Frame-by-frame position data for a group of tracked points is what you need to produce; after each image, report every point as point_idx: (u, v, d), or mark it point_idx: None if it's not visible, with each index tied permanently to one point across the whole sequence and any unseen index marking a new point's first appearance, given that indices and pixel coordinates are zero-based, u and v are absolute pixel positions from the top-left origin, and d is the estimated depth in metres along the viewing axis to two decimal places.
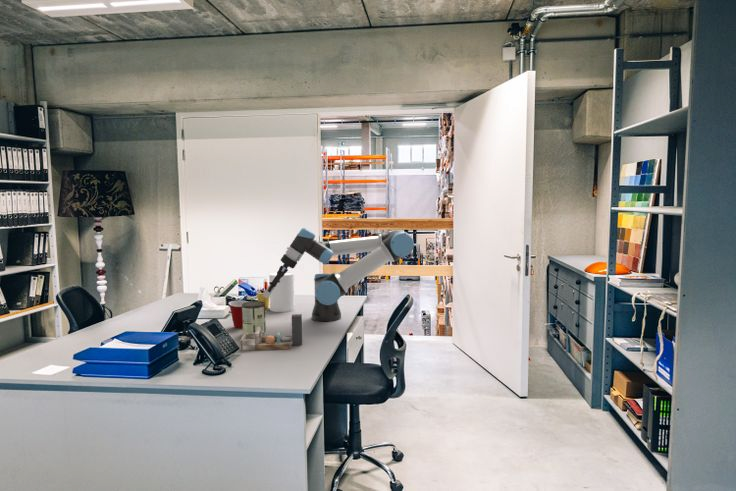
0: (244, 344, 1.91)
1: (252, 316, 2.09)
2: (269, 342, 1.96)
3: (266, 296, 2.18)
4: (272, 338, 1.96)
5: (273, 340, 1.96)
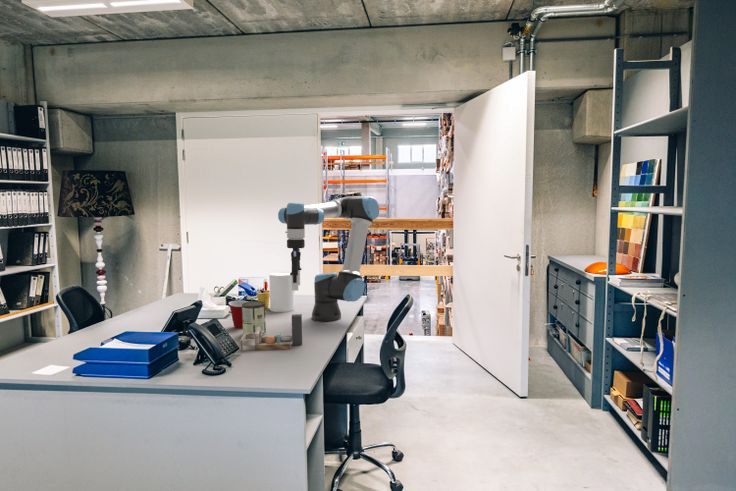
0: (244, 344, 1.91)
1: (252, 316, 2.09)
2: (269, 342, 1.96)
3: (296, 288, 1.98)
4: (272, 338, 1.96)
5: (273, 340, 1.96)
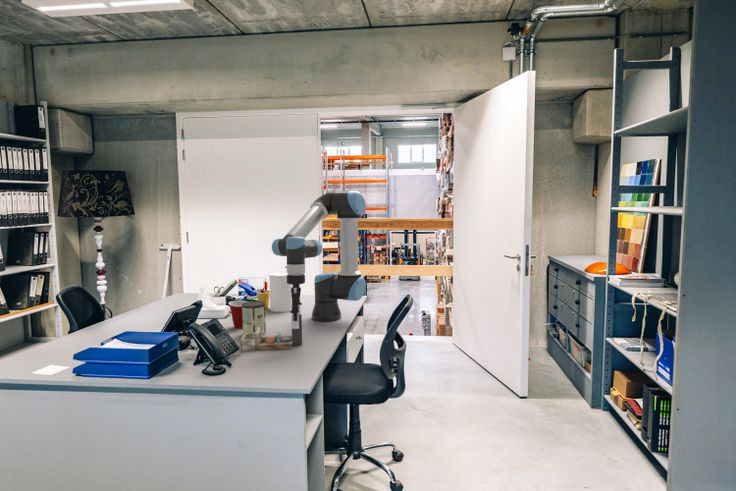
0: (244, 344, 1.91)
1: (252, 316, 2.09)
2: (269, 342, 1.96)
3: (296, 326, 1.91)
4: (272, 338, 1.96)
5: (273, 340, 1.96)
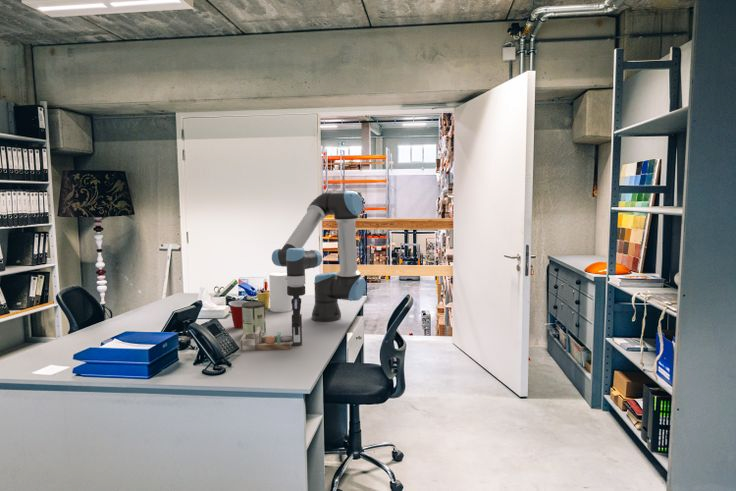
0: (244, 344, 1.91)
1: (252, 316, 2.09)
2: (269, 342, 1.96)
3: (298, 340, 1.96)
4: (272, 338, 1.96)
5: (273, 340, 1.96)
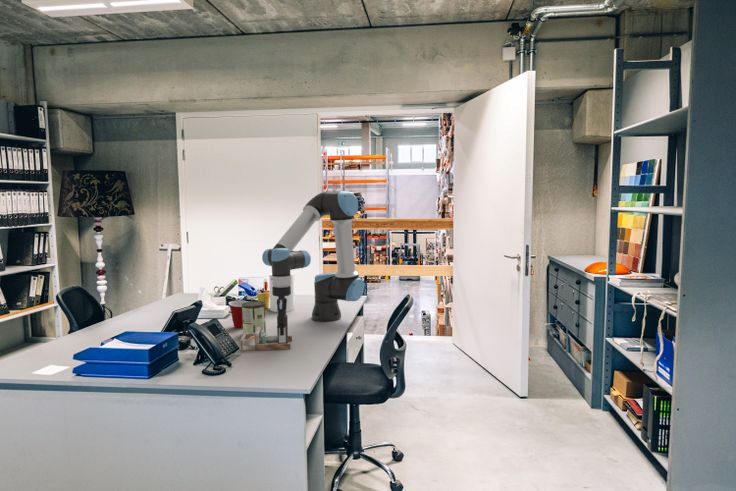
0: (244, 344, 1.91)
1: (252, 316, 2.09)
2: None
3: (283, 340, 1.96)
4: None
5: None
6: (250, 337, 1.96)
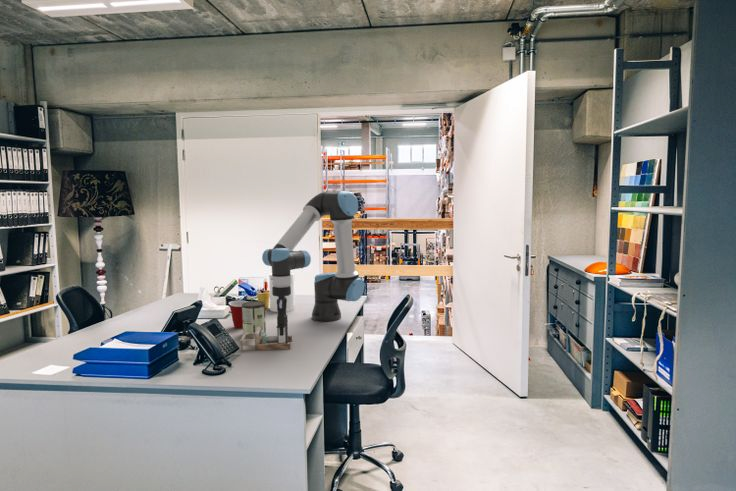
0: (244, 344, 1.91)
1: (252, 316, 2.09)
2: None
3: (283, 341, 1.94)
4: None
5: None
6: (259, 337, 1.96)
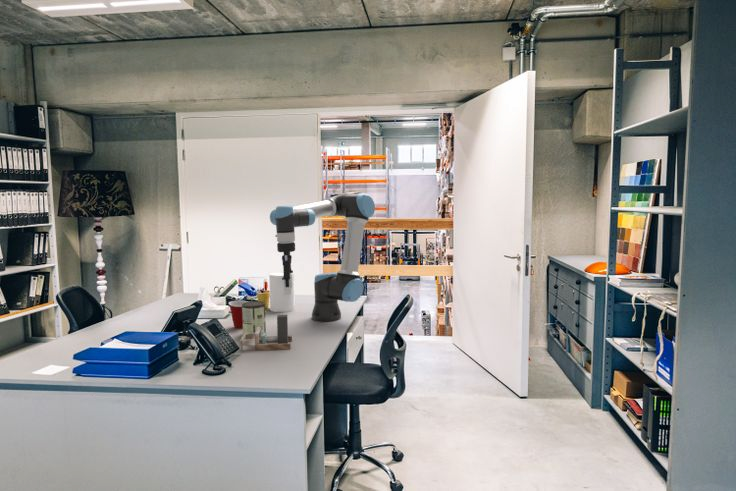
0: (244, 344, 1.91)
1: (252, 316, 2.09)
2: None
3: (288, 292, 1.97)
4: None
5: None
6: None
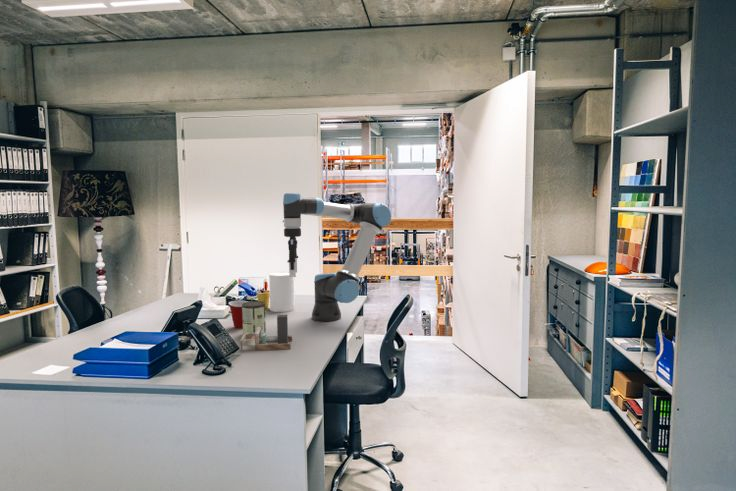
0: (244, 344, 1.91)
1: (252, 316, 2.09)
2: None
3: (293, 275, 2.07)
4: None
5: None
6: (254, 336, 1.96)
